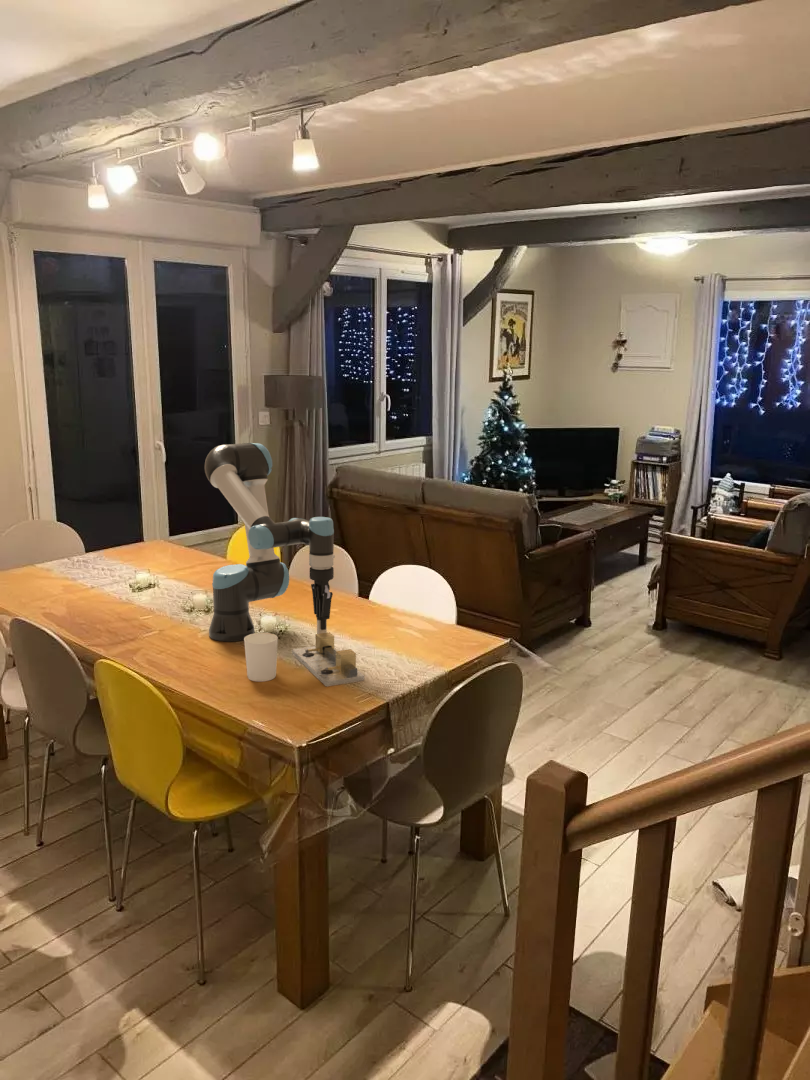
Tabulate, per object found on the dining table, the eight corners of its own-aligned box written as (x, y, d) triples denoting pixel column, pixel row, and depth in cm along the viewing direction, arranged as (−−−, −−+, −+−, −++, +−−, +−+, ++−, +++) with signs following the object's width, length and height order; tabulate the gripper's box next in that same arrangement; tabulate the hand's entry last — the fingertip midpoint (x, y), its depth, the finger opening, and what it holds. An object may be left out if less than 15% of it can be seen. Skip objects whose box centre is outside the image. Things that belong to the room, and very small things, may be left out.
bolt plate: (326, 686, 236) (326, 664, 235) (292, 653, 262) (291, 633, 261) (364, 680, 242) (364, 658, 240) (327, 648, 268) (327, 628, 266)
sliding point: (307, 654, 256) (307, 639, 255) (303, 650, 260) (303, 635, 259) (334, 651, 260) (334, 635, 259) (329, 647, 264) (329, 632, 263)
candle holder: (280, 670, 248) (279, 632, 245) (276, 682, 238) (275, 643, 236) (247, 670, 248) (246, 632, 245) (242, 682, 238) (241, 643, 235)
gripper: (340, 570, 254) (340, 642, 259) (325, 561, 265) (325, 630, 270) (317, 572, 251) (317, 646, 255) (303, 563, 262) (303, 633, 267)
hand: (321, 638), depth 263 cm, fingers closed
